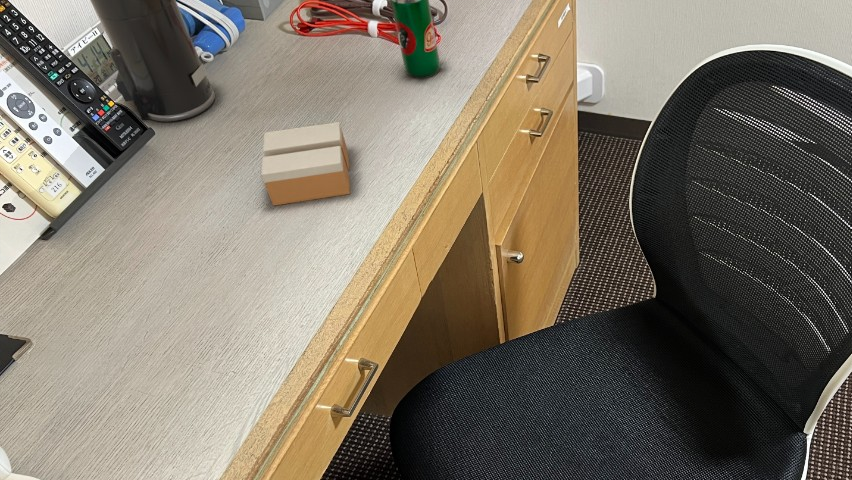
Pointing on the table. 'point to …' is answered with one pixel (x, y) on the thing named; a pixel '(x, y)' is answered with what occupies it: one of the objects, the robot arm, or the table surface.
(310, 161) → the cake slice
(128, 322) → the table surface
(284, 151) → the cake
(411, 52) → the soda can
